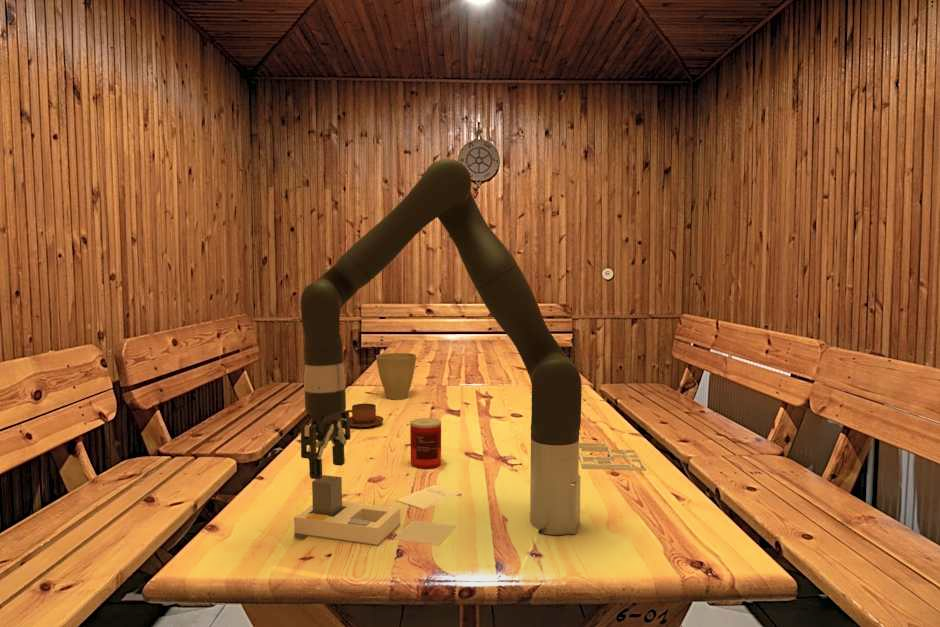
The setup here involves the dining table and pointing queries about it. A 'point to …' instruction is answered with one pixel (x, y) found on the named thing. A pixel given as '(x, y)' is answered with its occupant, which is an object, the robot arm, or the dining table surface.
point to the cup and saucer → (364, 415)
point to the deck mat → (425, 532)
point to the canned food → (425, 443)
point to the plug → (327, 495)
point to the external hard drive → (428, 496)
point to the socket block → (349, 523)
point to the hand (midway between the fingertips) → (327, 471)
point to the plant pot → (396, 373)
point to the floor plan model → (608, 458)
